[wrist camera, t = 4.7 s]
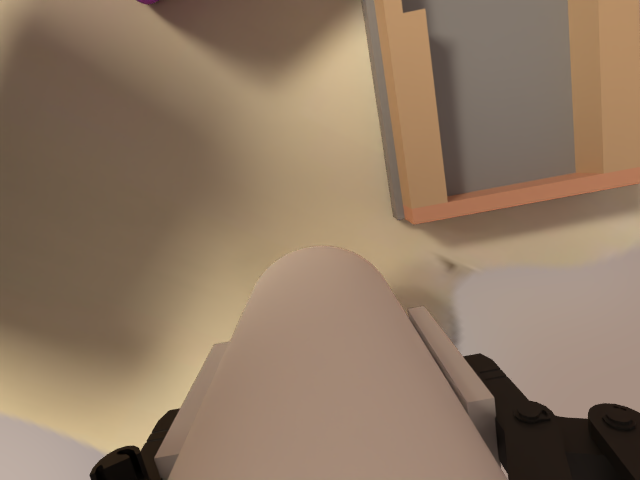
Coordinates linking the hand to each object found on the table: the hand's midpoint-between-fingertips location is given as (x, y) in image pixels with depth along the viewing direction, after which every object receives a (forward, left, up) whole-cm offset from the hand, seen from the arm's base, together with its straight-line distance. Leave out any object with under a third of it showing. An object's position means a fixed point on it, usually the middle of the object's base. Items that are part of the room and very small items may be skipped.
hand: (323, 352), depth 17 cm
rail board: (+13, +16, -11) cm, 23 cm away
